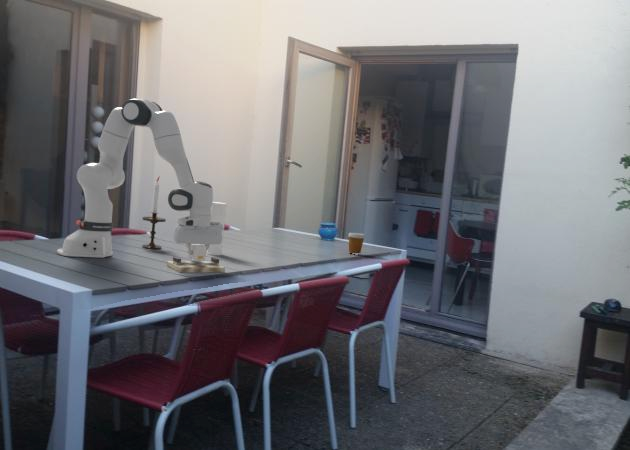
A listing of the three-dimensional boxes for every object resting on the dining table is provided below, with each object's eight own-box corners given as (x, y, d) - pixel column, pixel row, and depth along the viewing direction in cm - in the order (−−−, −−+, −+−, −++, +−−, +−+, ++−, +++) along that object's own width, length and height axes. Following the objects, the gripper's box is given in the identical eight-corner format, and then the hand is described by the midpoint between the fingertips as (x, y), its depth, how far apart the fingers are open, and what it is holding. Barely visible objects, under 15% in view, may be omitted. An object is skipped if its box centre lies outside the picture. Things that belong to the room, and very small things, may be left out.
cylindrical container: (210, 255, 313) (215, 203, 311) (204, 252, 319) (209, 201, 316) (224, 255, 317) (229, 204, 315) (217, 252, 323) (222, 202, 321)
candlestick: (166, 247, 321) (172, 176, 317) (158, 250, 310) (165, 176, 307) (144, 245, 322) (150, 174, 318) (136, 247, 311) (142, 174, 308)
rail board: (179, 272, 261) (180, 260, 260) (166, 265, 272) (167, 254, 272) (224, 272, 272) (225, 261, 272) (210, 265, 283) (211, 255, 283)
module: (195, 261, 267) (196, 246, 267) (188, 257, 273) (189, 243, 273) (205, 261, 270) (206, 247, 269) (198, 257, 276) (199, 244, 275)
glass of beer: (361, 256, 368) (364, 235, 366) (344, 254, 369) (347, 233, 368) (363, 254, 377) (366, 233, 376) (347, 252, 379) (349, 231, 378)
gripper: (219, 221, 279) (216, 253, 280) (173, 219, 267) (171, 252, 269) (226, 223, 273) (223, 256, 275) (179, 221, 262) (176, 255, 263)
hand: (196, 254), depth 272 cm, fingers closed on module, 4 cm apart
